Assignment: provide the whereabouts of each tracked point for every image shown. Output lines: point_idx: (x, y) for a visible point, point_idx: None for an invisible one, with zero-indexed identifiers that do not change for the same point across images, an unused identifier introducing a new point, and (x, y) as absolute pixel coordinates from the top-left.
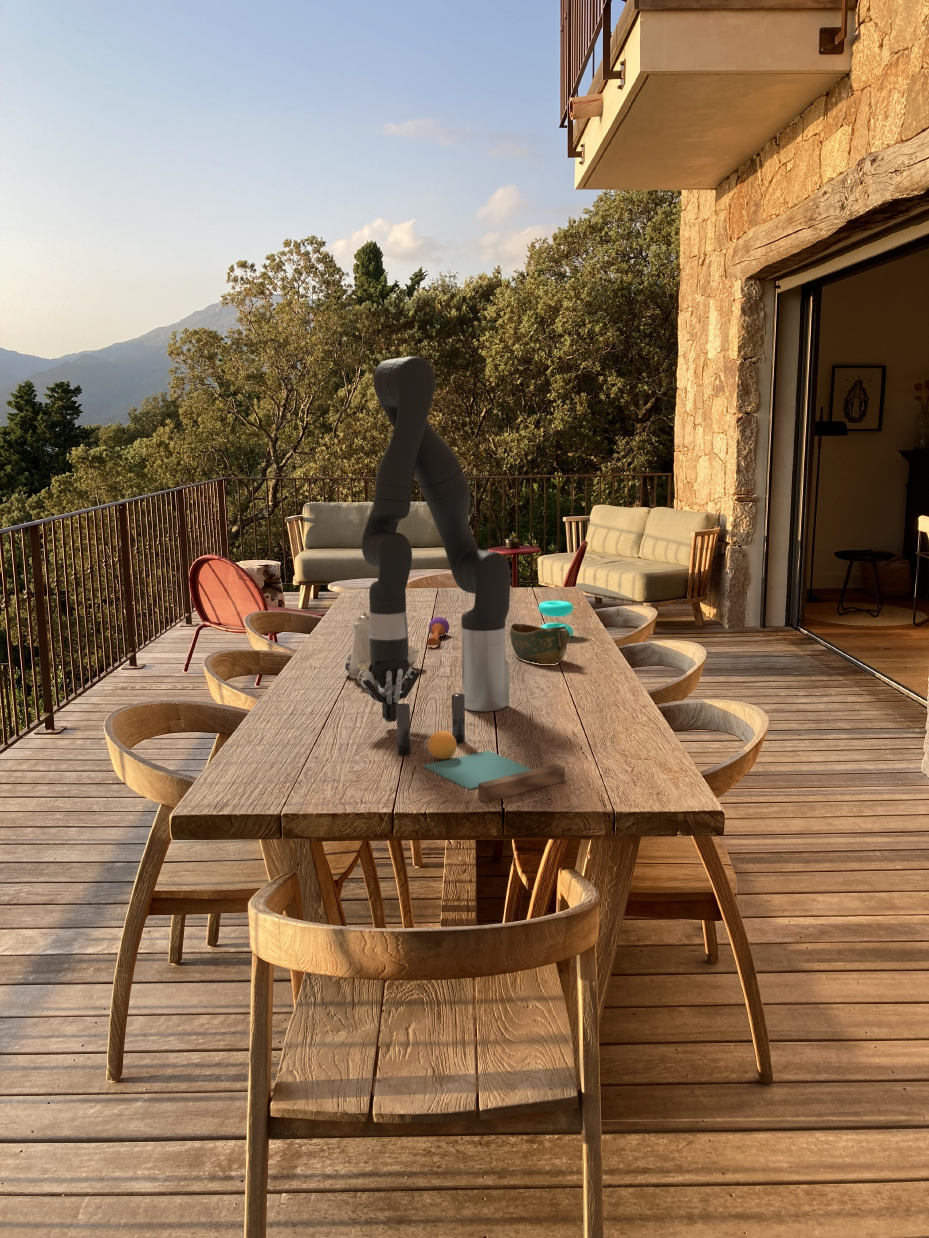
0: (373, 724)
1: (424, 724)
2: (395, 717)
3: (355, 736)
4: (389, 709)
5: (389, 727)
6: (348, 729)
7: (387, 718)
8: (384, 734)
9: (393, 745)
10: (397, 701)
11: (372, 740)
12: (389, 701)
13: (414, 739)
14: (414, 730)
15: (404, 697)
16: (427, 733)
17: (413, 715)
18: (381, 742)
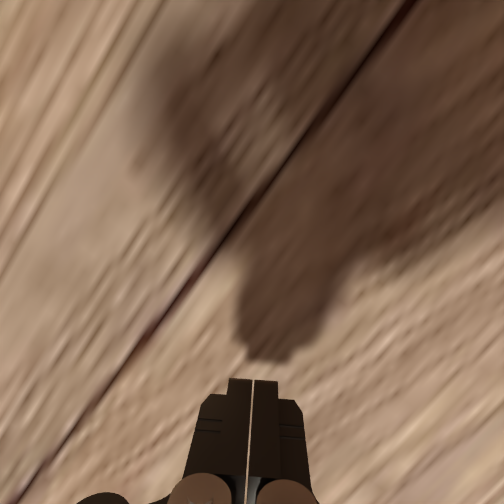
0: None
1: (56, 316)
2: (235, 388)
3: (495, 376)
4: (278, 447)
5: None
6: (435, 486)
7: (289, 405)
8: (350, 307)
9: (461, 78)
10: (197, 483)
11: (481, 257)
12: (293, 499)
13: (271, 100)
14: (165, 260)
15: (108, 501)
16: (131, 156)
17: (32, 470)
18: (471, 188)
